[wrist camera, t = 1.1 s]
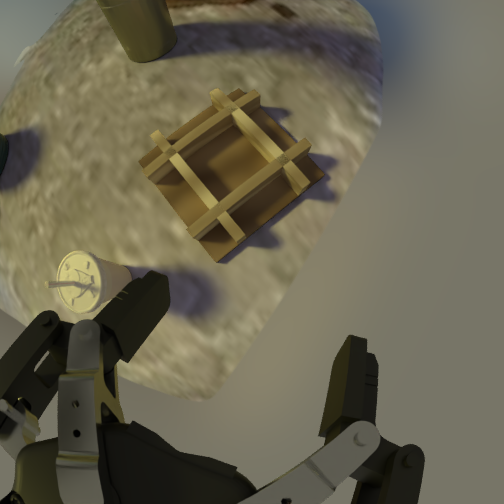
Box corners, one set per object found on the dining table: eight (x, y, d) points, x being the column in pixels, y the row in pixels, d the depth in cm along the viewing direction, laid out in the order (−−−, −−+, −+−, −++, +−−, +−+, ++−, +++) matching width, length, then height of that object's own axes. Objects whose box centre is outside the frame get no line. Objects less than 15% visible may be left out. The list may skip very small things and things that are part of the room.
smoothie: (96, 259, 33) (25, 254, 19) (136, 250, 33) (71, 239, 19) (105, 306, 32) (36, 323, 18) (145, 299, 32) (83, 317, 18)
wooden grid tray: (141, 164, 33) (129, 153, 29) (239, 92, 34) (237, 75, 30) (217, 262, 32) (212, 262, 28) (322, 176, 33) (331, 165, 29)
